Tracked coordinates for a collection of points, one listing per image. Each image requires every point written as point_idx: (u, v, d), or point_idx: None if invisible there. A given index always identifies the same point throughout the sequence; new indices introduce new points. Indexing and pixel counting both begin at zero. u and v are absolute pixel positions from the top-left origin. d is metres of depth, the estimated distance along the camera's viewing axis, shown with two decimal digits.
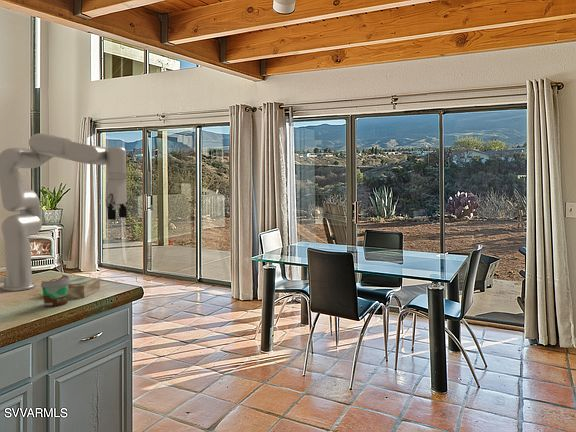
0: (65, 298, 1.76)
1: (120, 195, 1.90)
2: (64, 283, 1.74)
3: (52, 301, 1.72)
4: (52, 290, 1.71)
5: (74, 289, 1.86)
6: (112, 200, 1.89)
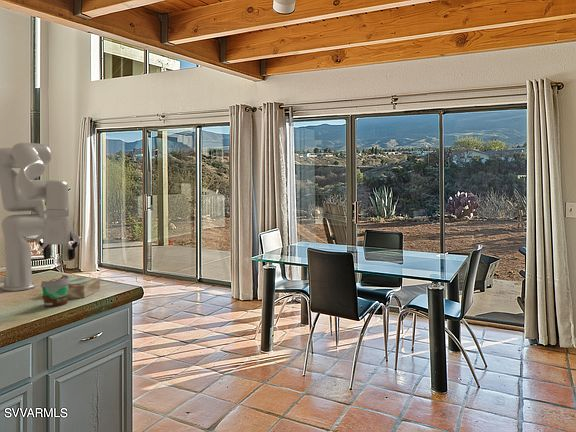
0: (65, 298, 1.76)
1: None
2: (64, 283, 1.74)
3: (52, 301, 1.72)
4: (52, 290, 1.71)
5: (74, 289, 1.86)
6: None
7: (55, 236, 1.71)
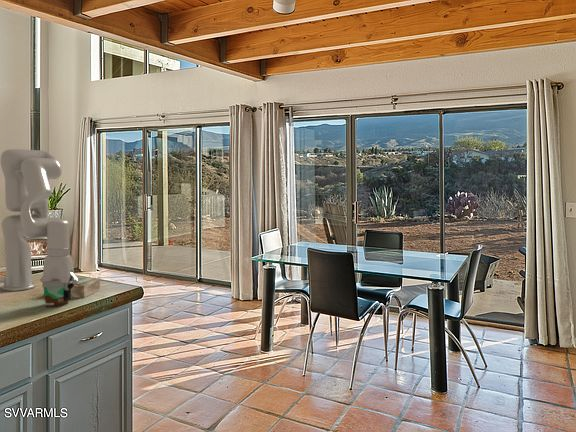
0: None
1: None
2: (65, 283, 1.74)
3: (54, 301, 1.72)
4: (53, 290, 1.71)
5: (74, 289, 1.86)
6: None
7: (56, 275, 1.72)
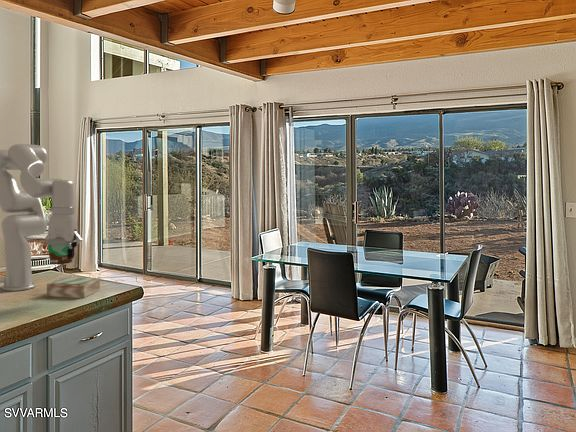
0: None
1: None
2: None
3: (58, 258, 1.77)
4: (57, 248, 1.76)
5: (74, 289, 1.86)
6: None
7: (60, 233, 1.77)
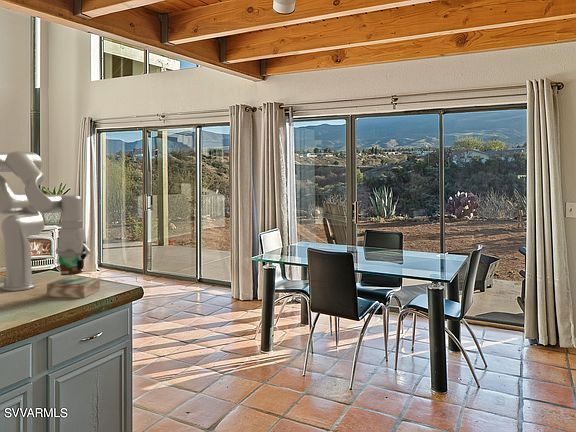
0: None
1: None
2: None
3: (68, 270, 1.87)
4: (68, 259, 1.87)
5: (74, 289, 1.86)
6: None
7: (70, 245, 1.88)
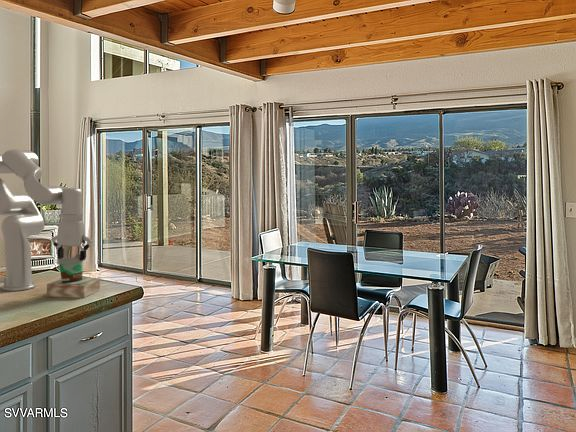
0: (80, 274, 1.91)
1: None
2: (79, 260, 1.89)
3: (69, 277, 1.88)
4: (68, 267, 1.87)
5: (74, 289, 1.86)
6: None
7: (69, 238, 1.88)
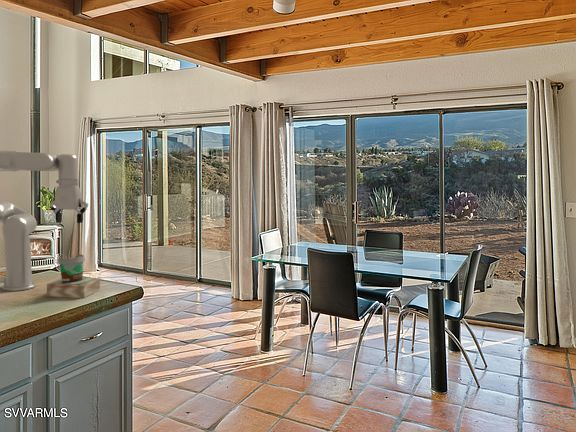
0: (80, 275, 1.91)
1: None
2: (80, 261, 1.89)
3: (69, 277, 1.88)
4: (69, 267, 1.87)
5: (74, 289, 1.86)
6: None
7: (66, 202, 1.98)
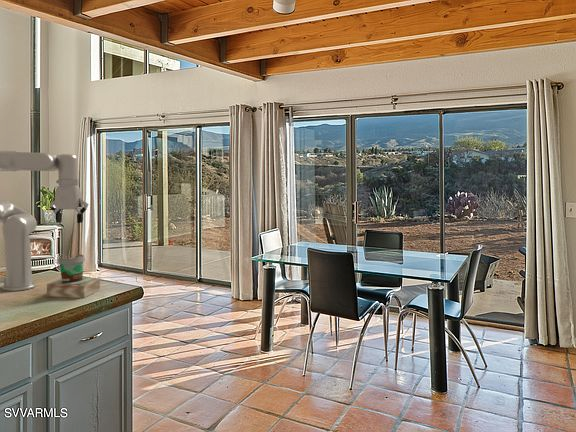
0: (80, 275, 1.91)
1: None
2: (80, 261, 1.89)
3: (69, 277, 1.88)
4: (69, 267, 1.87)
5: (74, 289, 1.86)
6: None
7: (66, 202, 1.98)
